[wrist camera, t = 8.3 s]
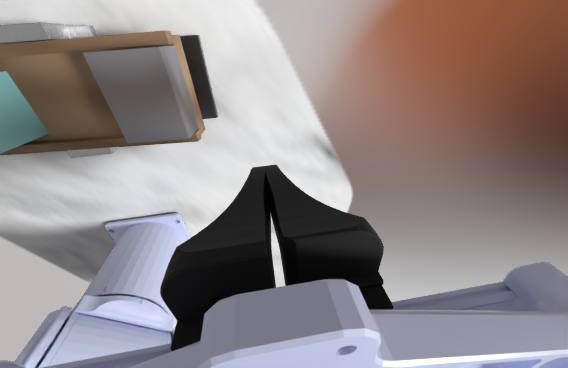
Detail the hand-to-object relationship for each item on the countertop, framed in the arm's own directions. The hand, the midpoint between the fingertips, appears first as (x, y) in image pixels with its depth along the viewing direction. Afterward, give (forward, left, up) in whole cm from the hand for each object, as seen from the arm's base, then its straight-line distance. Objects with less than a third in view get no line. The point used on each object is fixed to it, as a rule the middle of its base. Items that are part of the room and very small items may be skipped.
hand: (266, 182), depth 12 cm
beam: (+4, +13, -8) cm, 16 cm away
